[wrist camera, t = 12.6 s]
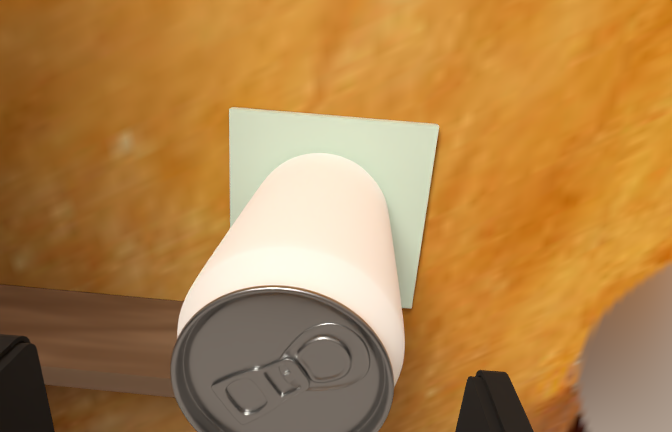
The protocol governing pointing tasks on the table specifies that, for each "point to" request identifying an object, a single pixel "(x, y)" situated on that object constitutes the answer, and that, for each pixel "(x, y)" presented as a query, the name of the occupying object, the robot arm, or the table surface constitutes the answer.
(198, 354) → the can
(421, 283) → the table surface
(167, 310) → the walnut box
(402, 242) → the sage mat
